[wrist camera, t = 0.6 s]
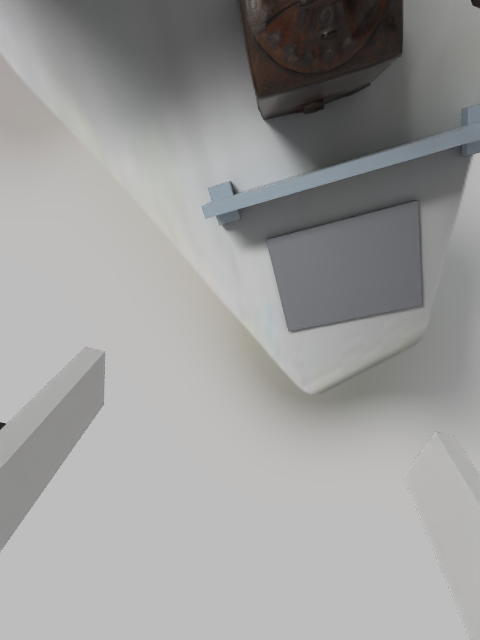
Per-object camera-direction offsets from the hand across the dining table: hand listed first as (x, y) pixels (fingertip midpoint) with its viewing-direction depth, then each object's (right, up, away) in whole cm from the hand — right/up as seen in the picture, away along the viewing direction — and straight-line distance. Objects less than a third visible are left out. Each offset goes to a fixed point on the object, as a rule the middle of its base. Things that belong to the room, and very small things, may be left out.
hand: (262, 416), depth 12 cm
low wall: (+9, +19, +20) cm, 29 cm away
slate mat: (+11, +10, +24) cm, 28 cm away
